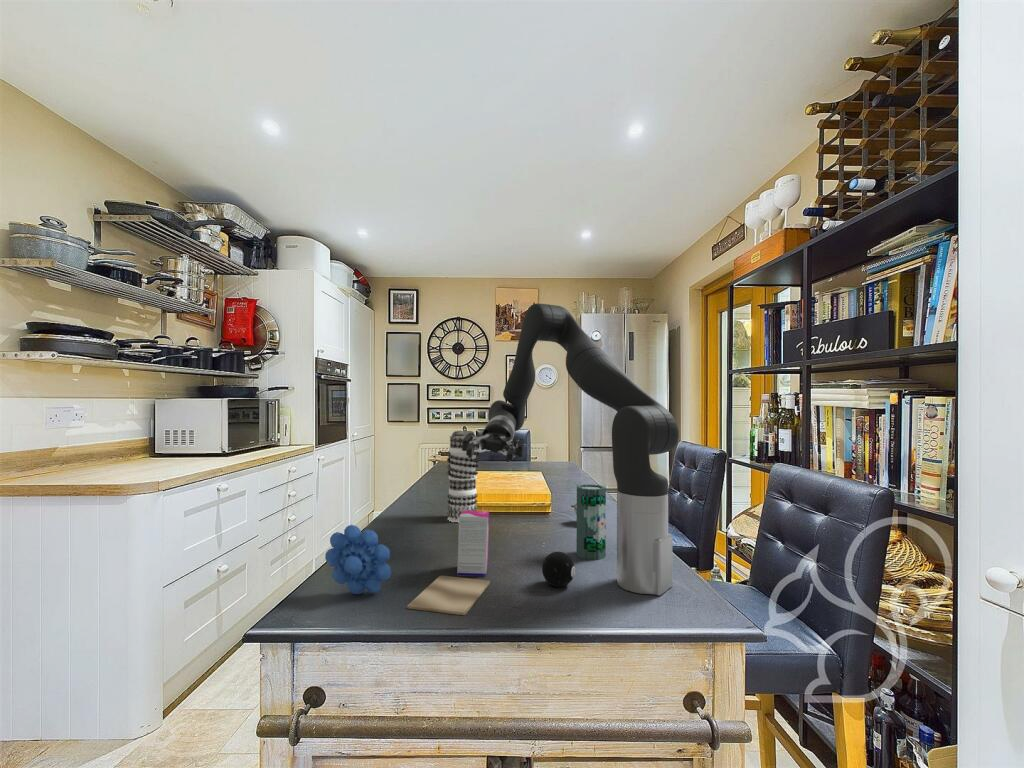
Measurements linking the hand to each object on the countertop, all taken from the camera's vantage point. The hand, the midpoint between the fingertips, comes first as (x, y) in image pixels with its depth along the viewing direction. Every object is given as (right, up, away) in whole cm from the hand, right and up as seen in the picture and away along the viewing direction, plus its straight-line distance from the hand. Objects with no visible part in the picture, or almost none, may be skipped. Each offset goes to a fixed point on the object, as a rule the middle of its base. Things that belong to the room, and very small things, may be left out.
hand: (489, 455), depth 106 cm
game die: (+26, -23, +27) cm, 44 cm away
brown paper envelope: (-6, -21, -22) cm, 31 cm away
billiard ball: (+14, -22, -17) cm, 31 cm away
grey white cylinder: (-9, -23, +31) cm, 40 cm away
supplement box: (-3, -22, -10) cm, 24 cm away
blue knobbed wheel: (-22, -21, -23) cm, 38 cm away
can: (+23, -22, 0) cm, 32 cm away
